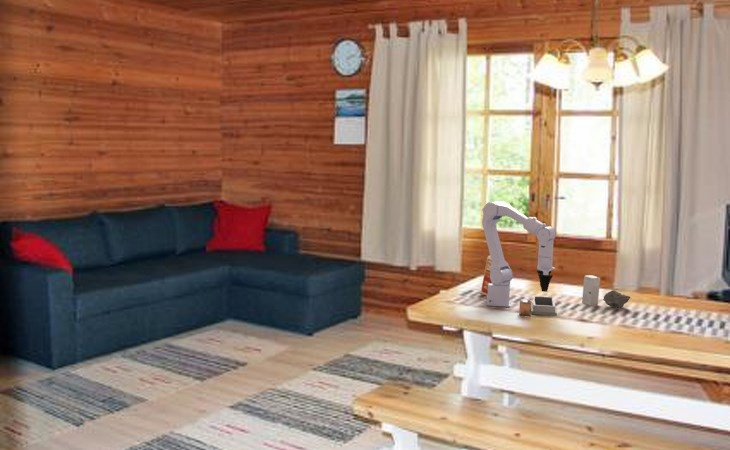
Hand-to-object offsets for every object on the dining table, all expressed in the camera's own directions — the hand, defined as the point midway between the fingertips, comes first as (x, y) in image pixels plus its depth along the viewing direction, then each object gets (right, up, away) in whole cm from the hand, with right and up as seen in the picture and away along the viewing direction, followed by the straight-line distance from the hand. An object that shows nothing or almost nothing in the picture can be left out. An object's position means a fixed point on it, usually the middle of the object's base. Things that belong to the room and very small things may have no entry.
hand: (543, 289), depth 287 cm
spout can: (-8, -10, -4) cm, 14 cm away
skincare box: (+25, -8, +18) cm, 32 cm away
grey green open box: (+1, -9, +3) cm, 10 cm away
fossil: (+33, -9, +11) cm, 36 cm away
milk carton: (-14, -6, +34) cm, 37 cm away
